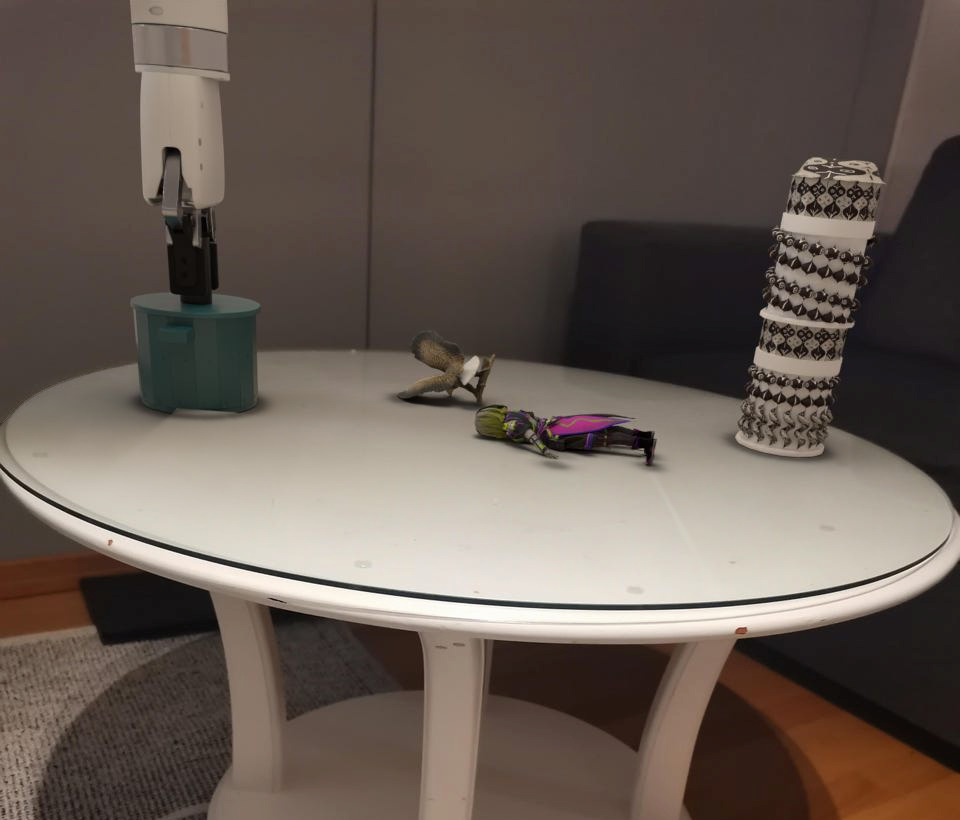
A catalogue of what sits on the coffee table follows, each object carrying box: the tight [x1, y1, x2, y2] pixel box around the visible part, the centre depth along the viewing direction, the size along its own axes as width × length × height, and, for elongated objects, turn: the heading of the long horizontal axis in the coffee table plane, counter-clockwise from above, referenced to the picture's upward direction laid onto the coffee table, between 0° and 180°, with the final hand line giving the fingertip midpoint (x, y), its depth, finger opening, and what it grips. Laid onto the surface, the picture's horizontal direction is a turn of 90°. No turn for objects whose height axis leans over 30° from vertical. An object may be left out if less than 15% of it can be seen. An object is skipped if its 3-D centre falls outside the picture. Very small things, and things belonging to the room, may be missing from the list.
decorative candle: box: [734, 156, 887, 458], centre depth 89 cm, size 9×9×25 cm
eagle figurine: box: [396, 329, 496, 406], centre depth 99 cm, size 8×7×9 cm
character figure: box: [474, 404, 658, 466], centre depth 86 cm, size 9×4×16 cm
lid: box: [130, 235, 262, 319], centre depth 88 cm, size 11×11×7 cm
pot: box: [132, 308, 259, 414], centre depth 91 cm, size 11×16×8 cm, turn 0°
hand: (195, 289), depth 88 cm, fingers open, 3 cm apart
